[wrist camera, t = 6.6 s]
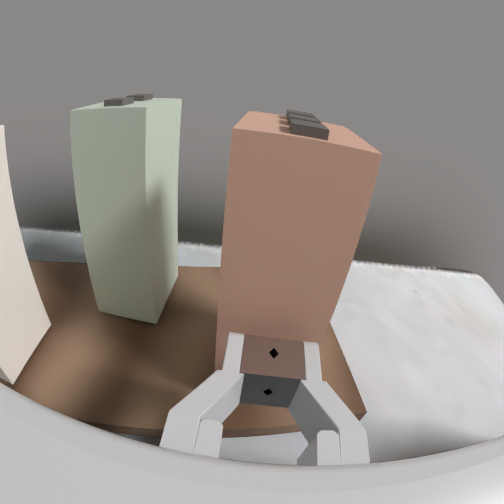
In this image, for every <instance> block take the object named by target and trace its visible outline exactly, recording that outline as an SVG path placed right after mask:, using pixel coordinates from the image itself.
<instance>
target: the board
mask: <svg viewBox="0 0 504 504" xmlns="http://www.w3.org/2000/svg"><path fill="white" fill-rule="evenodd" d="M29 265H30V268H31V271H32V274H33V277H34V280H35V283H36V286H37V289H38V292H39V294H40V297H41V300H42V303H43V305H44V308H45V310H46V313H47V315H48V318H49V320H50V323H51V326H50V327H49V329H48V330H47V332H46V333H45V335H44V336H43V338H42V339H41V341H40V342H39V344H38V345H37V347H36V348H35V350H34V351H33V353H32V354H31V356H30V358H29V359H28V361H27V362H26V364H25V366H24V367H23V369H22V371H21V372H20V374H19V376H18V377H17V379H16V381H15V382H14V384H13V385H12V384H10V383H9V382H7V381H5V380H3V379H1V378H0V383H2V384H3V385H5V386H7V387H9V388H11V389H12V390H14V391H16V392H18V393H20V394H22V395H24V396H26V397H27V398H29V399H31V400H33V401H35V402H37V403H40V404H42V405H44V406H46V407H48V408H50V409H52V410H55V411H57V412H59V413H61V414H64V415H66V416H68V417H71V418H73V419H76V420H78V421H81V422H83V423H86V424H89V425H91V426H94V427H97V428H100V429H102V430H105V431H108V432H113V433H122V434H131V435H142V436H155V437H162V435H163V431H164V427H165V424H166V420H167V417H168V413H169V410H170V409H172V408H173V407H174V406H175V405H177V404H178V403H179V402H180V401H181V400H183V399H184V398H185V397H186V396H187V395H189V394H190V393H191V392H192V391H193V390H194V389H196V388H197V387H198V386H199V385H200V384H201V383H203V382H204V381H205V380H206V379H207V378H208V377H210V376H211V375H212V374H213V373H214V372H215V353H216V333H217V316H218V299H219V284H220V269H221V267H188V266H178V277H177V279H176V281H175V283H174V285H173V288H172V290H171V292H170V294H169V297H168V299H167V301H166V303H165V306H164V308H163V310H162V313H161V315H160V317H159V320H158V322H157V324H154V323H149V322H144V321H140V320H135V319H130V318H126V317H121V316H117V315H113V314H109V313H104V312H100V311H99V310H98V307H97V303H96V299H95V295H94V291H93V287H92V283H91V279H90V274H89V270H88V265H87V263H71V262H48V261H29ZM319 354H320V364H321V375H322V381H325V382H327V383H328V384H329V386H330V387H331V388H332V389H333V390H334V392H335V393H336V394H337V395H338V396H339V398H340V399H341V400H342V401H343V402H344V404H345V405H346V406H347V407H348V408H349V410H350V411H351V412H352V413H353V414H354V416H355V417H356V418H357V419H358V420H359V421H360V420H361V418H362V417H363V416H364V415H365V414H366V412H367V411H366V409H365V406H364V404H363V401H362V399H361V396H360V394H359V391H358V389H357V386H356V384H355V381H354V379H353V376H352V374H351V372H350V369H349V367H348V364H347V362H346V359H345V357H344V355H343V352H342V350H341V348H340V345H339V343H338V340H337V338H336V336H335V333H334V331H333V329H332V326H331V324H330V323H329V325H328V328H327V331H326V333H325V336H324V338H323V340H322V343H321V345H320V348H319ZM222 425H223V432H222V438H228V437H248V436H262V435H273V434H282V433H291V432H298V431H301V430H300V429H299V427H298V425H297V424H296V422H295V420H294V419H293V417H292V415H291V414H290V412H289V410H288V408H283V407H274V406H266V405H255V404H245V403H239V405H238V406H237V407H236V408H235V409H234V410H233V411H232V413H231V414H230V415H229V416H228V417H227V418H226V419H225V420H224V421H223V422H222Z"/></svg>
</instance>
